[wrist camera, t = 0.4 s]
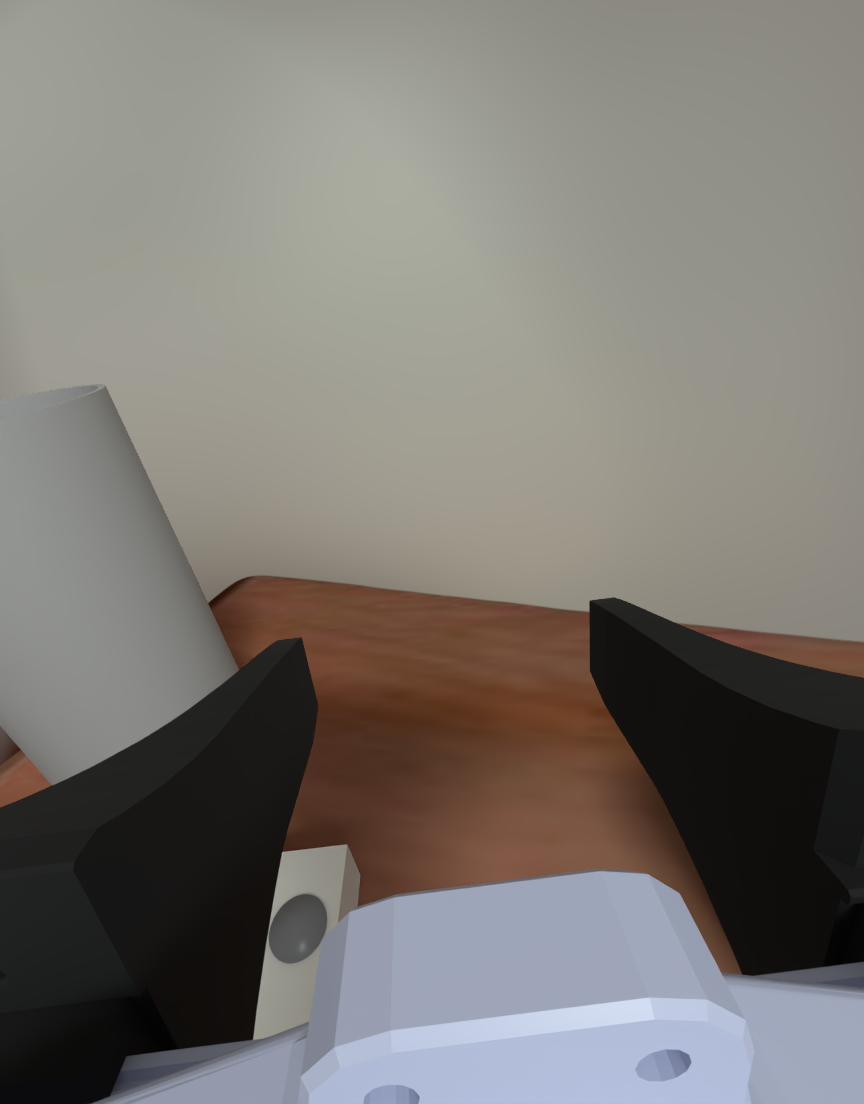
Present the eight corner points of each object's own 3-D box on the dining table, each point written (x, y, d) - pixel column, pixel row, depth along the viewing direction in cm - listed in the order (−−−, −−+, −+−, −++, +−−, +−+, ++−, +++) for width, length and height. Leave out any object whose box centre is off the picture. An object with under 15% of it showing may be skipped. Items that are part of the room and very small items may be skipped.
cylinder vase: (35, 828, 32) (-305, 474, 20) (160, 687, 42) (-12, 399, 30) (197, 849, 29) (-83, 447, 17) (288, 691, 39) (155, 374, 27)
